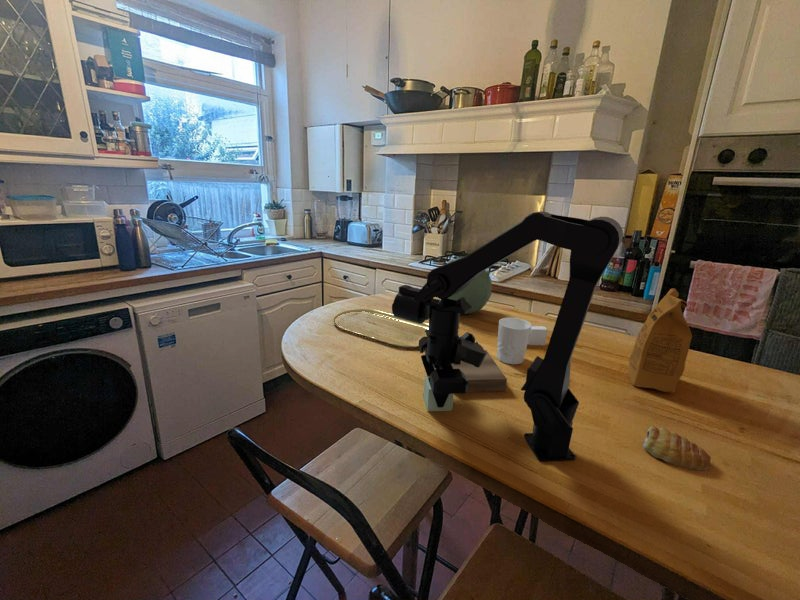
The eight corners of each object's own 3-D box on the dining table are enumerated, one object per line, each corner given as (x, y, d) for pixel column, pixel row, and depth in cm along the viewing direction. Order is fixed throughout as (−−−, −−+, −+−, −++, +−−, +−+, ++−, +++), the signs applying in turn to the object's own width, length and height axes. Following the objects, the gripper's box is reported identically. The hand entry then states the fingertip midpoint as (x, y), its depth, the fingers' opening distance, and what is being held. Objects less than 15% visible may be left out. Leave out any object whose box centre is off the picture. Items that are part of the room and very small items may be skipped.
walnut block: (505, 391, 82) (506, 379, 81) (451, 392, 80) (452, 380, 79) (485, 360, 95) (486, 350, 94) (439, 361, 94) (439, 350, 93)
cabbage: (498, 312, 130) (505, 256, 123) (468, 326, 117) (474, 263, 110) (461, 301, 140) (466, 248, 133) (429, 312, 127) (433, 255, 120)
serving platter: (420, 358, 96) (420, 352, 95) (320, 326, 113) (320, 321, 113) (450, 334, 111) (451, 329, 111) (358, 309, 128) (358, 305, 128)
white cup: (527, 367, 92) (533, 330, 89) (495, 363, 94) (499, 327, 90) (524, 353, 99) (529, 319, 96) (493, 350, 101) (498, 316, 98)
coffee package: (672, 375, 91) (698, 290, 84) (678, 399, 81) (708, 305, 74) (626, 364, 96) (647, 282, 89) (625, 386, 86) (650, 295, 79)
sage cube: (451, 410, 74) (454, 388, 72) (427, 411, 74) (428, 389, 72) (446, 396, 79) (448, 375, 77) (423, 396, 78) (424, 376, 77)
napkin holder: (492, 344, 106) (494, 325, 104) (506, 331, 115) (508, 314, 113) (546, 359, 98) (549, 340, 96) (556, 345, 107) (560, 327, 105)
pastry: (706, 456, 64) (713, 438, 63) (709, 481, 59) (716, 462, 58) (643, 434, 70) (648, 417, 68) (640, 455, 64) (646, 437, 63)
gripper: (501, 350, 63) (490, 427, 68) (470, 311, 80) (464, 375, 85) (436, 351, 62) (430, 429, 67) (420, 311, 79) (416, 376, 84)
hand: (437, 399), depth 76 cm, fingers closed on sage cube, 5 cm apart
